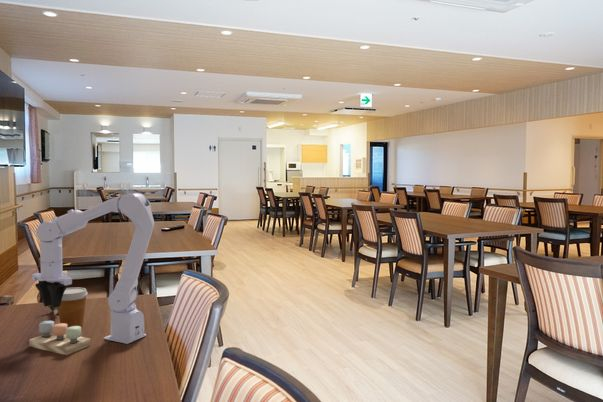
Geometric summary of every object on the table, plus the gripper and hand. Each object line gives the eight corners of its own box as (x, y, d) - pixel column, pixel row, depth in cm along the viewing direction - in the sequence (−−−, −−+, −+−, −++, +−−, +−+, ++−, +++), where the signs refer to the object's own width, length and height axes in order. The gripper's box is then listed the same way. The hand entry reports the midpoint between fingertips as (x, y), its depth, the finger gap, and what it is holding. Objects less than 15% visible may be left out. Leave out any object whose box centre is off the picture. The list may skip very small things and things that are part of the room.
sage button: (84, 341, 129) (84, 327, 129) (72, 346, 125) (72, 331, 125) (74, 339, 130) (74, 325, 130) (63, 344, 127) (62, 329, 127)
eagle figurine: (38, 313, 157) (59, 311, 154) (45, 293, 161) (65, 291, 158) (55, 319, 163) (75, 317, 161) (60, 300, 167) (80, 298, 164)
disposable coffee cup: (63, 334, 140) (63, 295, 139) (49, 327, 146) (49, 290, 145) (93, 326, 147) (93, 290, 147) (79, 320, 153) (78, 285, 153)
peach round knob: (70, 338, 131) (70, 324, 131) (58, 343, 128) (58, 328, 127) (61, 337, 133) (61, 322, 132) (49, 341, 129) (49, 326, 129)
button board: (90, 345, 131) (90, 338, 131) (66, 355, 124) (66, 347, 123) (54, 337, 137) (54, 331, 137) (29, 346, 130) (29, 339, 129)
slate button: (57, 336, 133) (57, 321, 133) (45, 340, 130) (45, 325, 130) (48, 334, 135) (48, 320, 135) (36, 338, 131) (36, 323, 131)
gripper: (22, 261, 134) (23, 306, 134) (56, 265, 128) (57, 313, 129) (44, 257, 140) (44, 300, 141) (77, 261, 134) (78, 306, 135)
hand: (52, 306), depth 135 cm, fingers open, 3 cm apart
